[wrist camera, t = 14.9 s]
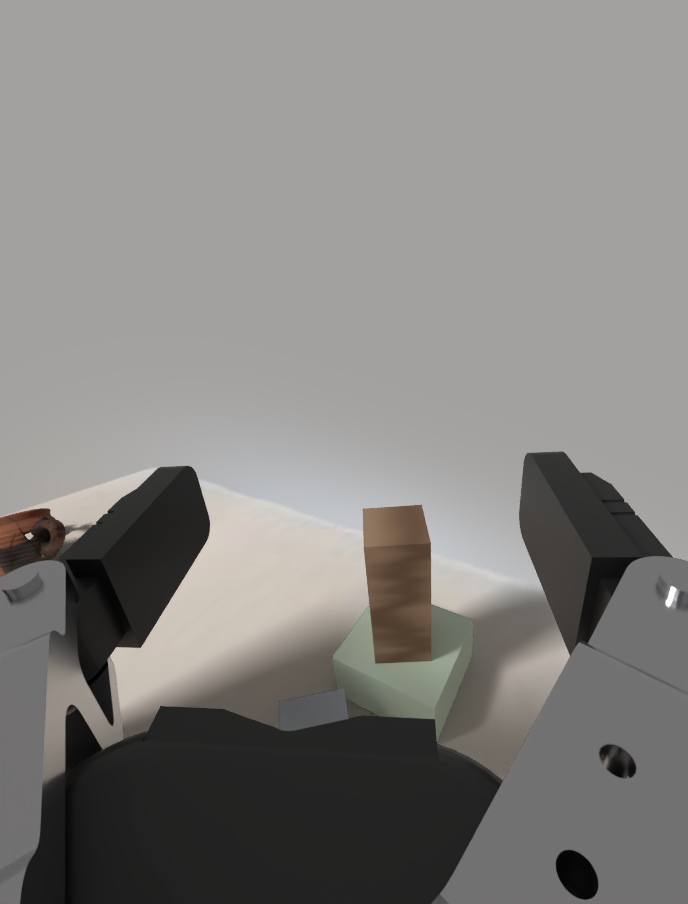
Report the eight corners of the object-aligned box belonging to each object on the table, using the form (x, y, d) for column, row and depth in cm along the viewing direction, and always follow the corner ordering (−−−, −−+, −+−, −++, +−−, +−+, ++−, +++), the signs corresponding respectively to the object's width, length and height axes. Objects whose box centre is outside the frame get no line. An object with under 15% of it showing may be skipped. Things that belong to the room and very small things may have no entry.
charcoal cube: (291, 813, 30) (279, 773, 28) (289, 740, 35) (278, 701, 33) (361, 798, 31) (354, 757, 29) (350, 728, 35) (344, 688, 33)
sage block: (338, 696, 38) (331, 657, 36) (385, 623, 45) (382, 586, 42) (435, 749, 33) (434, 708, 31) (472, 658, 40) (473, 619, 38)
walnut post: (375, 663, 35) (363, 547, 29) (373, 618, 39) (362, 508, 33) (431, 661, 35) (430, 543, 29) (423, 616, 39) (421, 504, 33)
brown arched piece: (-27, 589, 57) (-42, 529, 57) (39, 569, 66) (25, 517, 66) (45, 568, 54) (29, 505, 55) (103, 550, 63) (89, 496, 64)
